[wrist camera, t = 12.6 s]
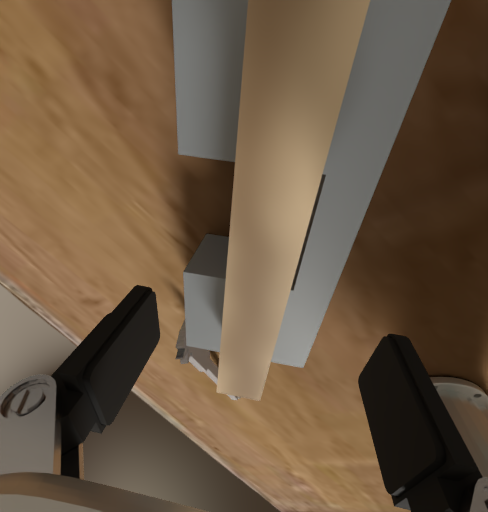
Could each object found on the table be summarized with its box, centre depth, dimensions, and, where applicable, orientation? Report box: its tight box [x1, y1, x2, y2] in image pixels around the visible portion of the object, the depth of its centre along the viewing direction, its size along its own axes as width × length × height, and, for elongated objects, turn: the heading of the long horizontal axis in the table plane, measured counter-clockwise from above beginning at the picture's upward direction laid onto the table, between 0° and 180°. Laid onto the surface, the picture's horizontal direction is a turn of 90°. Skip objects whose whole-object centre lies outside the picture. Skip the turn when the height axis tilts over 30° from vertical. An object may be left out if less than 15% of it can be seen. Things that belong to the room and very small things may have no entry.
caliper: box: [176, 321, 241, 400], centre depth 35 cm, size 20×1×6 cm, turn 18°
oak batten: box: [217, 0, 370, 401], centre depth 15 cm, size 4×24×5 cm, turn 174°
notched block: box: [172, 0, 451, 368], centre depth 20 cm, size 12×28×7 cm, turn 174°
